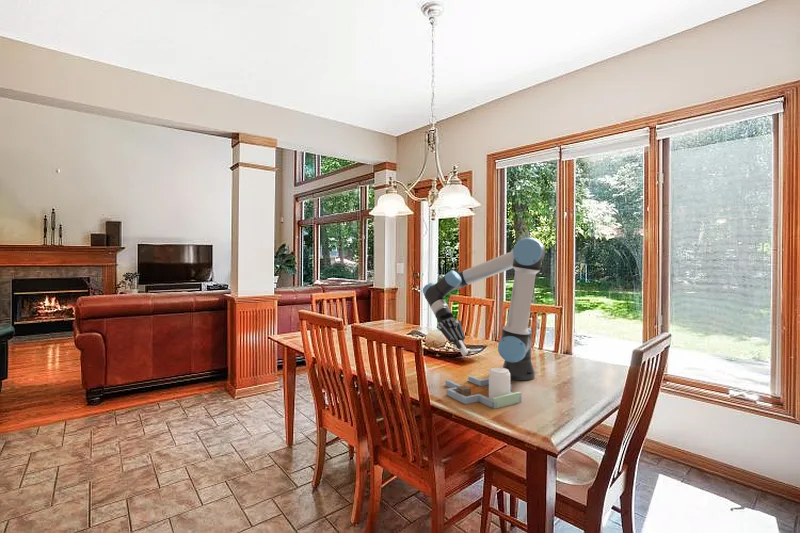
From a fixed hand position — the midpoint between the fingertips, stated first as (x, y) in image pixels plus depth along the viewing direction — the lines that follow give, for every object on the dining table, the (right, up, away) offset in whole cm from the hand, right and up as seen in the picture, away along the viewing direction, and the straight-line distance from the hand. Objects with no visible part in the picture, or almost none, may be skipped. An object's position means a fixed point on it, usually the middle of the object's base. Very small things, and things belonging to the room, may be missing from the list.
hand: (465, 354), depth 169 cm
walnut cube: (-3, -14, -13) cm, 20 cm away
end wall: (+12, -15, -21) cm, 28 cm away
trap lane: (+5, -14, -8) cm, 17 cm away
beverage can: (+11, -15, -15) cm, 24 cm away
